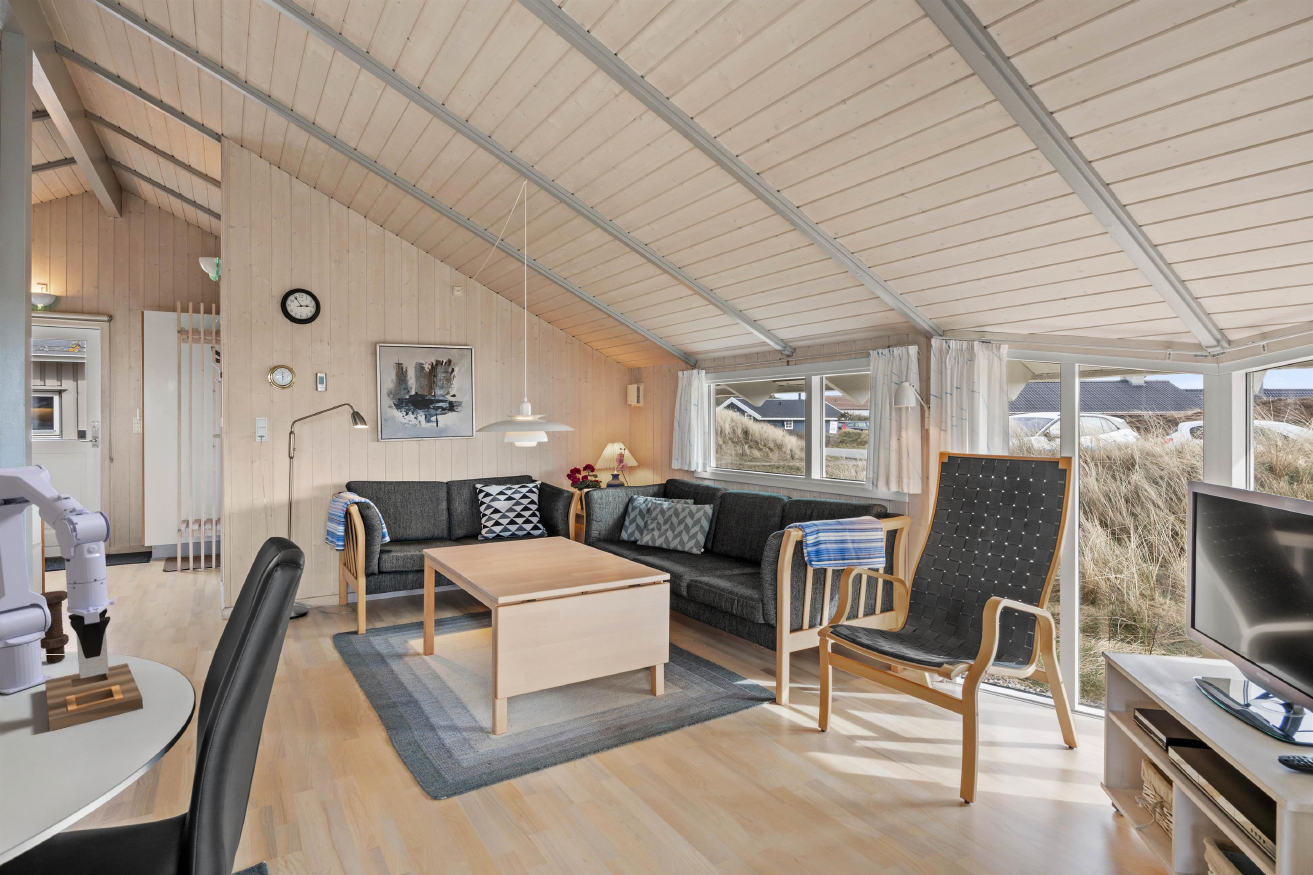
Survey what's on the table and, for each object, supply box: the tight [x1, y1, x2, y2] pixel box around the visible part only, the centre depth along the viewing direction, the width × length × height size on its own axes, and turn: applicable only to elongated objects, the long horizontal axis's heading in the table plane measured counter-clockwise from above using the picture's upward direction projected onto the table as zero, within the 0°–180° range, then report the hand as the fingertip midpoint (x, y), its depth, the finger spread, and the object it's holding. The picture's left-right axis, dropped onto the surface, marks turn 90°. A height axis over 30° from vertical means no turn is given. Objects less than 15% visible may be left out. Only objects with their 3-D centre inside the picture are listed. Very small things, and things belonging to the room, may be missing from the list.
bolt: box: [39, 590, 70, 664], centre depth 157 cm, size 6×5×15 cm
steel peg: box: [76, 629, 109, 678], centre depth 131 cm, size 4×4×8 cm
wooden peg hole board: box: [44, 662, 144, 732], centre depth 136 cm, size 24×13×2 cm, turn 42°
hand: (91, 653), depth 131 cm, fingers closed on steel peg, 4 cm apart
